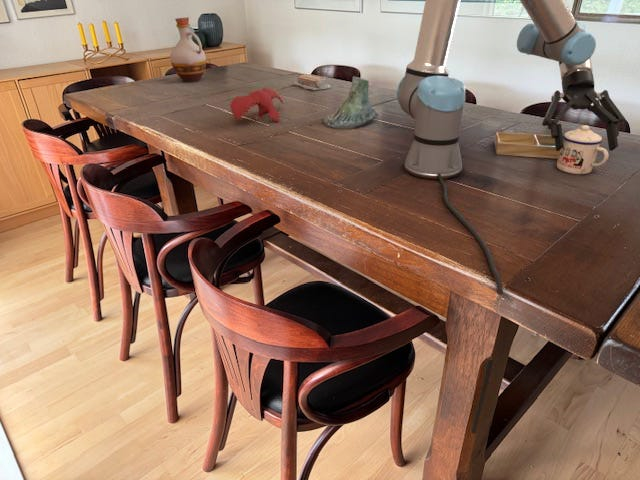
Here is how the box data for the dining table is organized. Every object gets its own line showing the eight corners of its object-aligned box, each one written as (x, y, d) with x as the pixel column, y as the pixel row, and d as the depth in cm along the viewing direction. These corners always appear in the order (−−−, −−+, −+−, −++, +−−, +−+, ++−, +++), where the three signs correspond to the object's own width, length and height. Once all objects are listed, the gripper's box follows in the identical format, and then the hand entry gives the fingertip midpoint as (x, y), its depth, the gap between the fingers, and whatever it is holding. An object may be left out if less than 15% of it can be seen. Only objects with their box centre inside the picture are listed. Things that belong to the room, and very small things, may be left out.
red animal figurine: (289, 122, 182) (266, 91, 181) (302, 108, 175) (279, 76, 174) (244, 142, 161) (218, 107, 160) (258, 127, 155) (231, 91, 154)
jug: (218, 79, 239) (210, 16, 224) (193, 85, 226) (183, 19, 211) (192, 76, 249) (182, 15, 233) (166, 82, 236) (155, 18, 220)
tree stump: (314, 119, 171) (323, 69, 164) (360, 126, 179) (371, 79, 172) (333, 130, 155) (344, 75, 149) (382, 136, 163) (395, 85, 157)
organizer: (578, 160, 128) (581, 148, 126) (496, 154, 133) (498, 143, 132) (570, 147, 137) (573, 136, 136) (494, 142, 143) (496, 131, 141)
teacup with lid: (548, 167, 124) (558, 125, 118) (567, 160, 128) (578, 119, 122) (591, 181, 115) (605, 136, 109) (610, 173, 119) (624, 129, 113)
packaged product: (330, 77, 213) (313, 80, 208) (330, 88, 215) (313, 91, 211) (310, 72, 226) (292, 74, 221) (310, 82, 228) (293, 85, 224)
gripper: (616, 84, 126) (627, 154, 121) (524, 85, 128) (532, 154, 122) (632, 68, 119) (645, 141, 114) (535, 69, 120) (543, 142, 115)
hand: (586, 148), depth 118 cm, fingers open, 13 cm apart
